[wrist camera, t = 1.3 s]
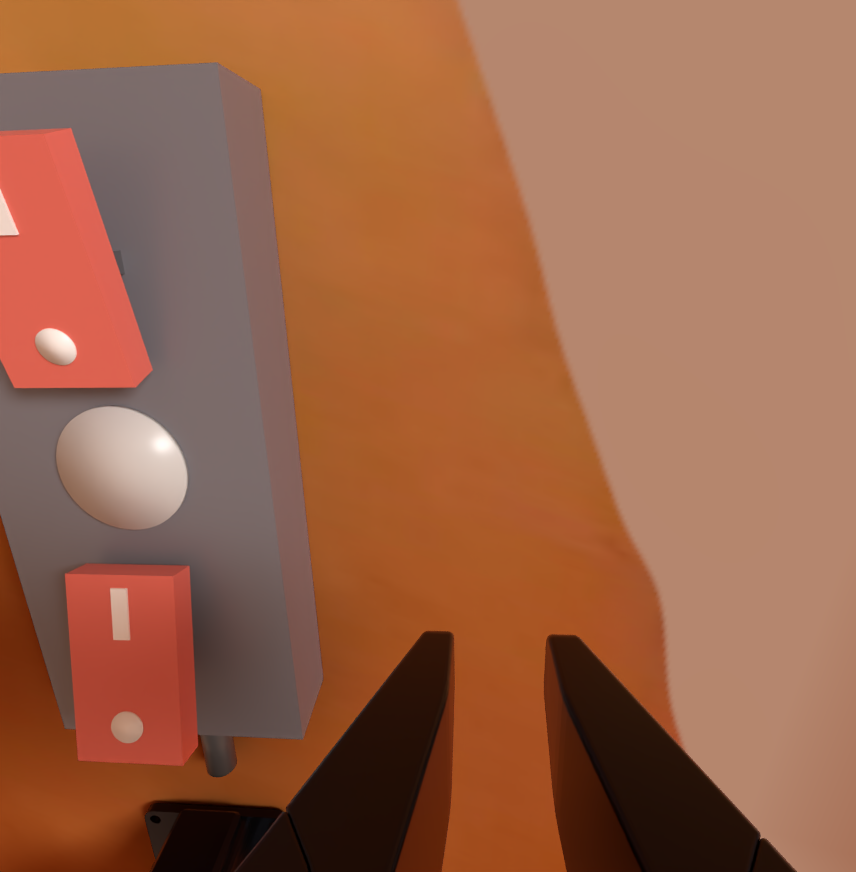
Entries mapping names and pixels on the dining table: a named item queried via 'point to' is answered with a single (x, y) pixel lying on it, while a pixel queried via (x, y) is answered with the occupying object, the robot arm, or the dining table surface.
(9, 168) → the switch
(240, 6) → the dining table surface
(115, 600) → the switch
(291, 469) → the switch panel
